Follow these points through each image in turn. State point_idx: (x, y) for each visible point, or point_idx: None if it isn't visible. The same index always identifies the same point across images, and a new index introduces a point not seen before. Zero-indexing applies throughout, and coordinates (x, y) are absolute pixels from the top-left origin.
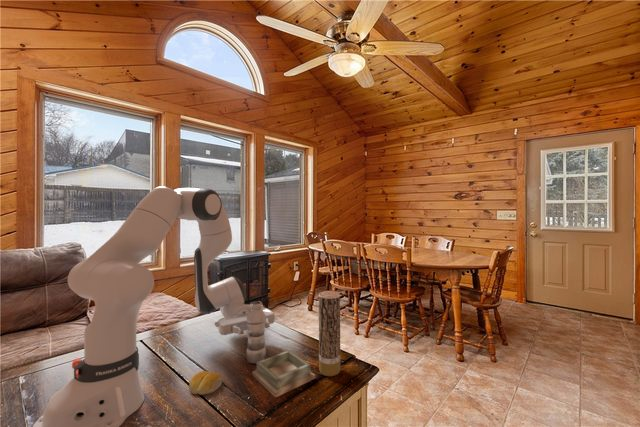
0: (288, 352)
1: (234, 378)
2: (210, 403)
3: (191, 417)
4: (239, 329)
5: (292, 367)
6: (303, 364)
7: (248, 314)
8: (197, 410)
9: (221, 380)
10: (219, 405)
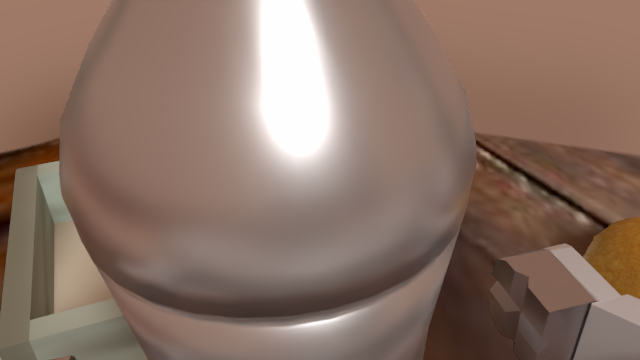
0: (29, 314)
1: (493, 345)
2: (569, 203)
3: (617, 163)
4: (568, 247)
5: (78, 295)
6: (39, 198)
7: (439, 44)
8: (612, 184)
9: None
10: (519, 187)
